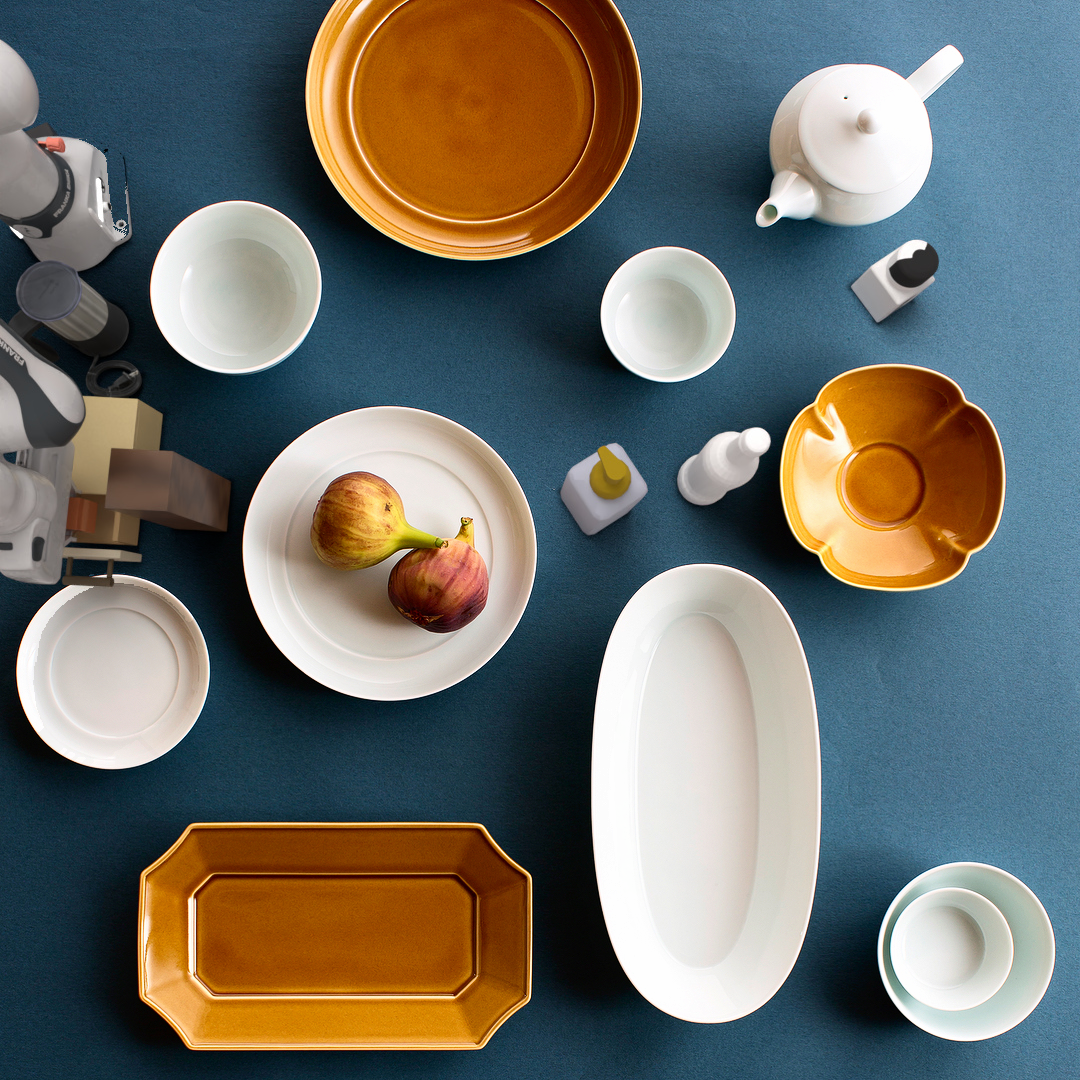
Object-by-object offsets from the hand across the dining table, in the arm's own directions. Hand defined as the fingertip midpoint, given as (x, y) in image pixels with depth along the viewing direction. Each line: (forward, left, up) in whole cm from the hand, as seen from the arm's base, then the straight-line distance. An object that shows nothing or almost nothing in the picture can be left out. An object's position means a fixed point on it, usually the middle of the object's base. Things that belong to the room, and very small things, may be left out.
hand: (74, 516), depth 114 cm
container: (-46, +123, -11) cm, 132 cm away
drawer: (+1, 0, -10) cm, 10 cm away
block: (0, 0, -2) cm, 2 cm away
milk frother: (-28, -3, -11) cm, 30 cm away
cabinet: (-11, 0, -10) cm, 15 cm away
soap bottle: (-8, +76, -11) cm, 77 cm away
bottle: (-12, +93, -11) cm, 94 cm away
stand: (-4, +14, -10) cm, 18 cm away
